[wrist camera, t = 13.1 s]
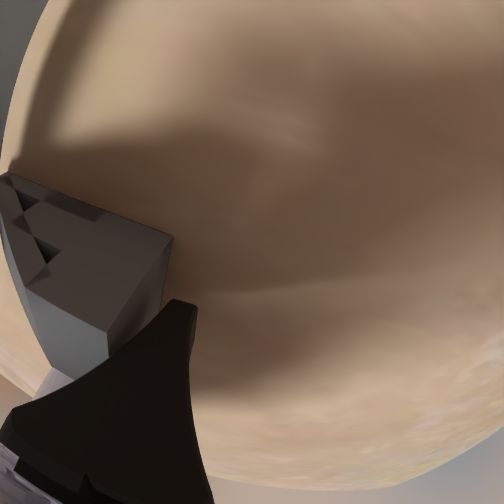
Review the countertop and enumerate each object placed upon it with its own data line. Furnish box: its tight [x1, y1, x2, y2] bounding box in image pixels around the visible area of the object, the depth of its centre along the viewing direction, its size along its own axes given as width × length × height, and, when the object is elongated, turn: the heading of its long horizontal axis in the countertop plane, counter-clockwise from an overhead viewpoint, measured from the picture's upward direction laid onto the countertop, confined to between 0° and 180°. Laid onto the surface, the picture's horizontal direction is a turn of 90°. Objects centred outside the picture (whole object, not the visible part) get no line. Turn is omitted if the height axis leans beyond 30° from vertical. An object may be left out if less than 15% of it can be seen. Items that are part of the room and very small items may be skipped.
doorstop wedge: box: [0, 172, 173, 380], centre depth 9 cm, size 10×4×5 cm, turn 71°
